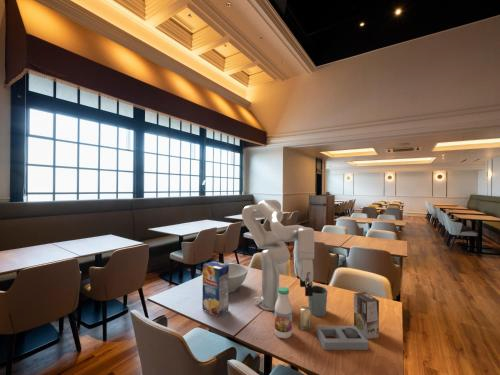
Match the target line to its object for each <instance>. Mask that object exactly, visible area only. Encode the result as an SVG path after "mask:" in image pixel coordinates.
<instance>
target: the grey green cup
mask: <svg viewBox="0 0 500 375" xmlns="http://www.w3.org/2000/svg"><path fill="white" fill-rule="evenodd" d="M307 298H308V299H307V300H308V307H309V308H310V315H313V316H315V317H324V316H325V315H326V314H327V302H328V299H327V298H328V289H327V288H326V287H324V286H321V285H313V296H307Z"/></svg>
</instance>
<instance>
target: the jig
mask: <svg viewBox="0 0 500 375" xmlns="http://www.w3.org/2000/svg"><path fill="white" fill-rule="evenodd" d="M315 333H316V335H317V337H318V339H319V342H320V343H321V346H322V348H323V350H324V351H347V350H348V351H352V350H353V351H366V350H367V351H369V344H370V343H369V341H368V339H367V338H365V337H364V336H363V335H362V334H361V332H360V331H359V330H358V328H357V327H356V326H354V325H316V326H315ZM326 337H335V338H326Z"/></svg>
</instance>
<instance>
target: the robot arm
mask: <svg viewBox="0 0 500 375" xmlns="http://www.w3.org/2000/svg"><path fill="white" fill-rule="evenodd" d="M241 211H242V212H241V216H242V222H243V224H244V225H245V227H246V228H247V230H249V232H250V234H251V236H252V238H253V241H254V242H255V244H256V246H257V248H258V249H261V250H262V251H261V253H260V257H259V258H260V262H261V263H260V264H261V277H262V278H261V280H262V281H261V283H262V284H261V296H254V297H253V302H255V303H259V304H258V305H259V307H260V308H261V309H263V310H264V311H269V312H273V311H274V312H275V304H276V301H277V299H278V297H279V294H278V289H279V288H280V271H279V270H278V267H277V265H282V264H286V263H287V262H289V261H290V258H291V253H290V250H289V248H288V247H287V246H288V245H287V244H286V243H289V242H294V241H297V258H298V268H297V275H298V277H299V287H301V288H304V296H306V297H308V296H313V280H314V263H313V261H314V259H315V230H314V228H312V227H307V226H306V227H305V226H303V225H300V224H294V225H293V224H292V225H284V224H282V223H281V222H282V221H283V218H284V213H283V212H282V205H281V203H280V201H279V200H276V199H264V200H260V201H259V202H258V203H257V204H249V205H246V206H244V208H242V210H241ZM257 219H266V220H267V221H268V222H269V224H270V231H269V230H268V231H267V230H266V229H265V228H264V226H263V224H262V223H261V222H259V220H257ZM263 249H264V250H263Z"/></svg>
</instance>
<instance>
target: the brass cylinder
mask: <svg viewBox="0 0 500 375" xmlns="http://www.w3.org/2000/svg"><path fill="white" fill-rule="evenodd" d="M299 319H300V322H299V324H300V325H299V326H300V330H302V331H304V332H309V331H310V330H311V313H310V308H309V306H304V305H303V306H301V307H300V317H299Z"/></svg>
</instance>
